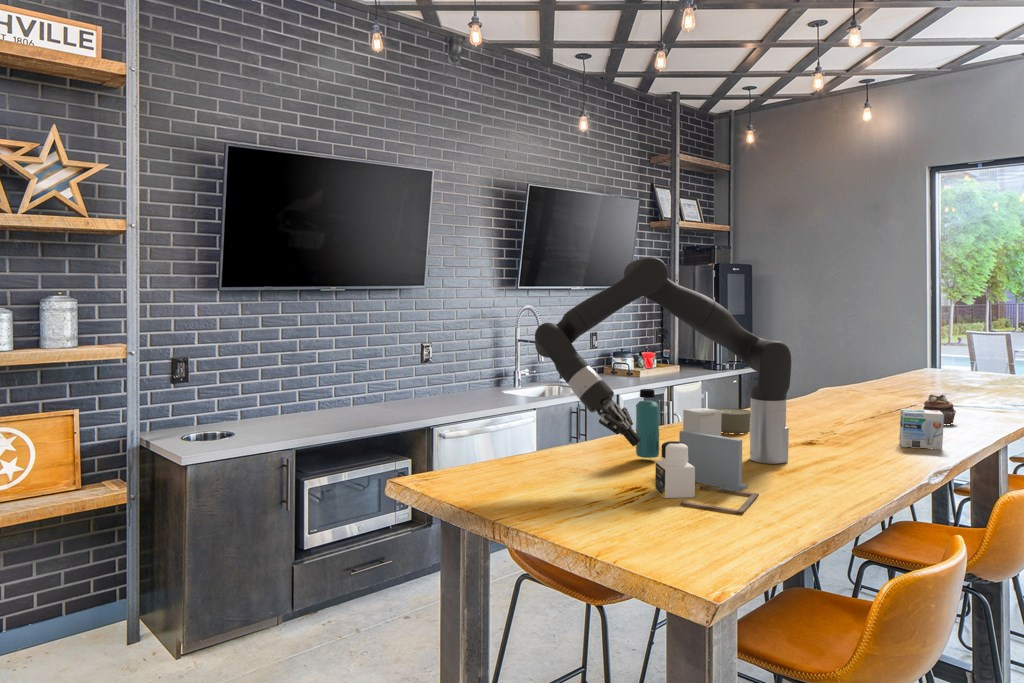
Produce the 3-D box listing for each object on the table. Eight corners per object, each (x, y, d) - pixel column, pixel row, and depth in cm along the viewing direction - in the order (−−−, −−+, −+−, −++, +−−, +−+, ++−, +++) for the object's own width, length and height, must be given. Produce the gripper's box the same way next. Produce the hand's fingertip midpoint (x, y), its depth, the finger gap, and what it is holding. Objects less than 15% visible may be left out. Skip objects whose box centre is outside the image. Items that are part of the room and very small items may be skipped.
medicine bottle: (655, 490, 161) (655, 439, 160) (684, 489, 162) (684, 439, 161) (664, 499, 154) (664, 446, 153) (695, 497, 154) (695, 445, 154)
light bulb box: (901, 447, 203) (902, 411, 202) (898, 443, 209) (899, 408, 208) (943, 450, 199) (945, 413, 198) (939, 445, 205) (940, 410, 204)
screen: (672, 480, 169) (673, 432, 168) (688, 475, 174) (688, 428, 173) (732, 493, 157) (733, 442, 156) (747, 487, 162) (748, 437, 161)
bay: (680, 505, 149) (680, 502, 149) (700, 488, 162) (700, 485, 162) (742, 515, 142) (742, 512, 142) (758, 496, 155) (758, 493, 155)
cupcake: (930, 425, 236) (931, 396, 235) (918, 420, 245) (919, 393, 245) (960, 426, 234) (961, 397, 234) (947, 421, 244) (948, 393, 243)
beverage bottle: (659, 463, 186) (660, 390, 184) (634, 462, 187) (635, 390, 186) (659, 458, 192) (659, 387, 191) (635, 457, 193) (635, 387, 192)
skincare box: (698, 472, 176) (698, 412, 175) (680, 467, 182) (681, 409, 181) (722, 468, 180) (723, 410, 179) (704, 463, 186) (705, 406, 185)
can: (755, 435, 223) (756, 414, 223) (718, 435, 224) (719, 414, 223) (743, 427, 235) (744, 408, 235) (708, 428, 235) (709, 408, 235)
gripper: (588, 381, 160) (637, 438, 155) (611, 376, 171) (658, 428, 166) (568, 402, 163) (616, 459, 158) (592, 395, 175) (637, 448, 169)
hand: (637, 443), depth 162 cm, fingers closed
